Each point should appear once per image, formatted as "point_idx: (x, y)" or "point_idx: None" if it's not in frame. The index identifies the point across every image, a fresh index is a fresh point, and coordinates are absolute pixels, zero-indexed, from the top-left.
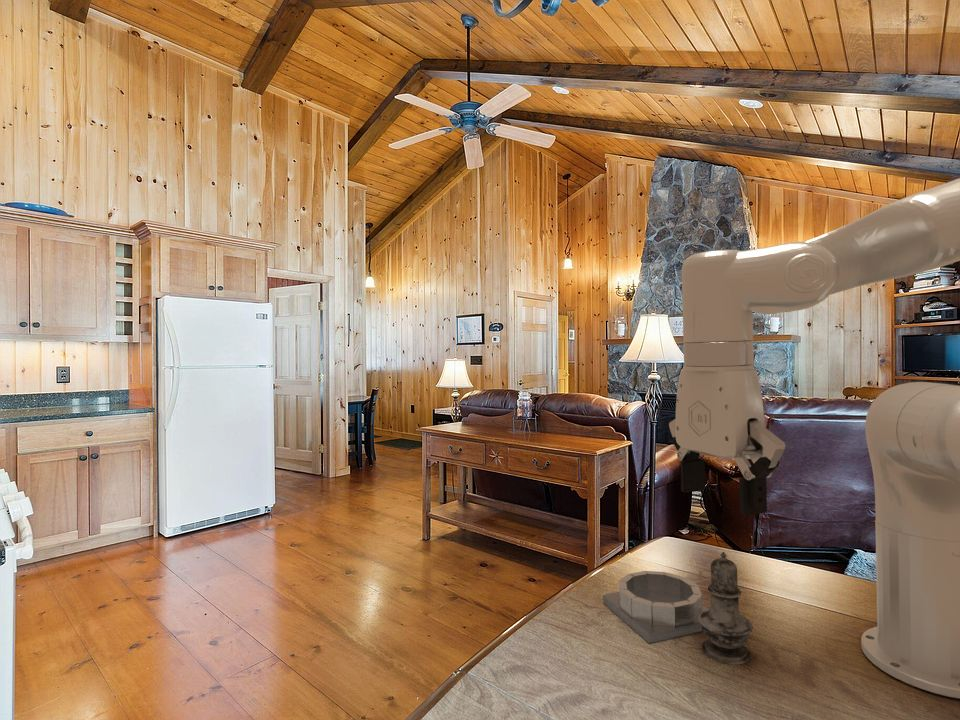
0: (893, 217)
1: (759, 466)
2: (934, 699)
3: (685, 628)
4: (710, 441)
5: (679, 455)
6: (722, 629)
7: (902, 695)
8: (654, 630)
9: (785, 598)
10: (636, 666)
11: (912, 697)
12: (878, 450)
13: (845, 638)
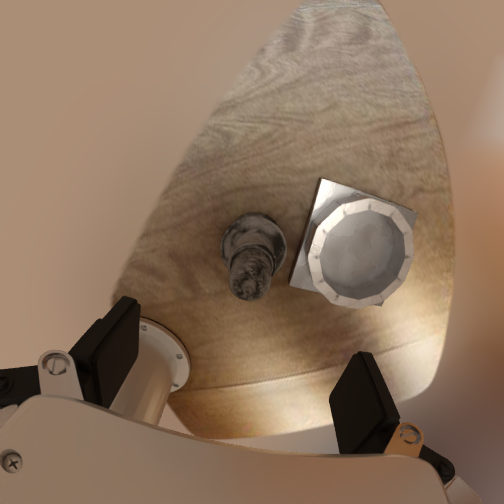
0: None
1: (15, 380)
2: None
3: (305, 232)
4: (143, 493)
5: (414, 435)
6: (240, 226)
7: None
8: (323, 191)
9: (278, 378)
10: (296, 128)
11: None
12: None
13: (201, 350)
